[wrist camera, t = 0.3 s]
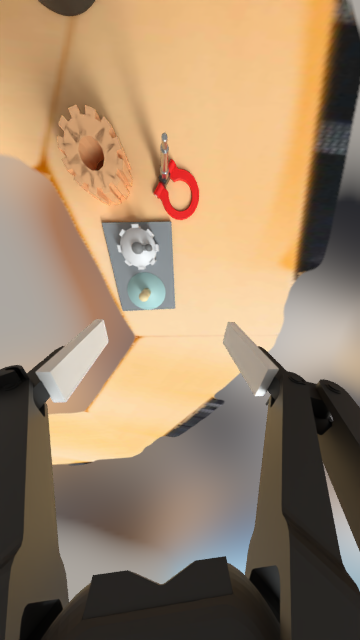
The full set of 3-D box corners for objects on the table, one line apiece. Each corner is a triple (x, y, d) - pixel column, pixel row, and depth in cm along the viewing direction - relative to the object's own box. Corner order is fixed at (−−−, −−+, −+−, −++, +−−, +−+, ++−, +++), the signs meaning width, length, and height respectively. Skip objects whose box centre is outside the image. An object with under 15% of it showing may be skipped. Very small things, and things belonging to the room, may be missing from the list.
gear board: (103, 223, 31) (86, 215, 25) (171, 222, 32) (171, 214, 25) (123, 309, 41) (115, 319, 34) (175, 307, 42) (175, 316, 35)
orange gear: (72, 136, 25) (45, 103, 19) (126, 137, 25) (115, 105, 20) (89, 205, 29) (72, 194, 24) (135, 204, 30) (128, 193, 24)
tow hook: (205, 193, 30) (172, 156, 27) (229, 159, 19) (178, 88, 16) (183, 228, 33) (151, 198, 30) (193, 217, 22) (143, 166, 18)
